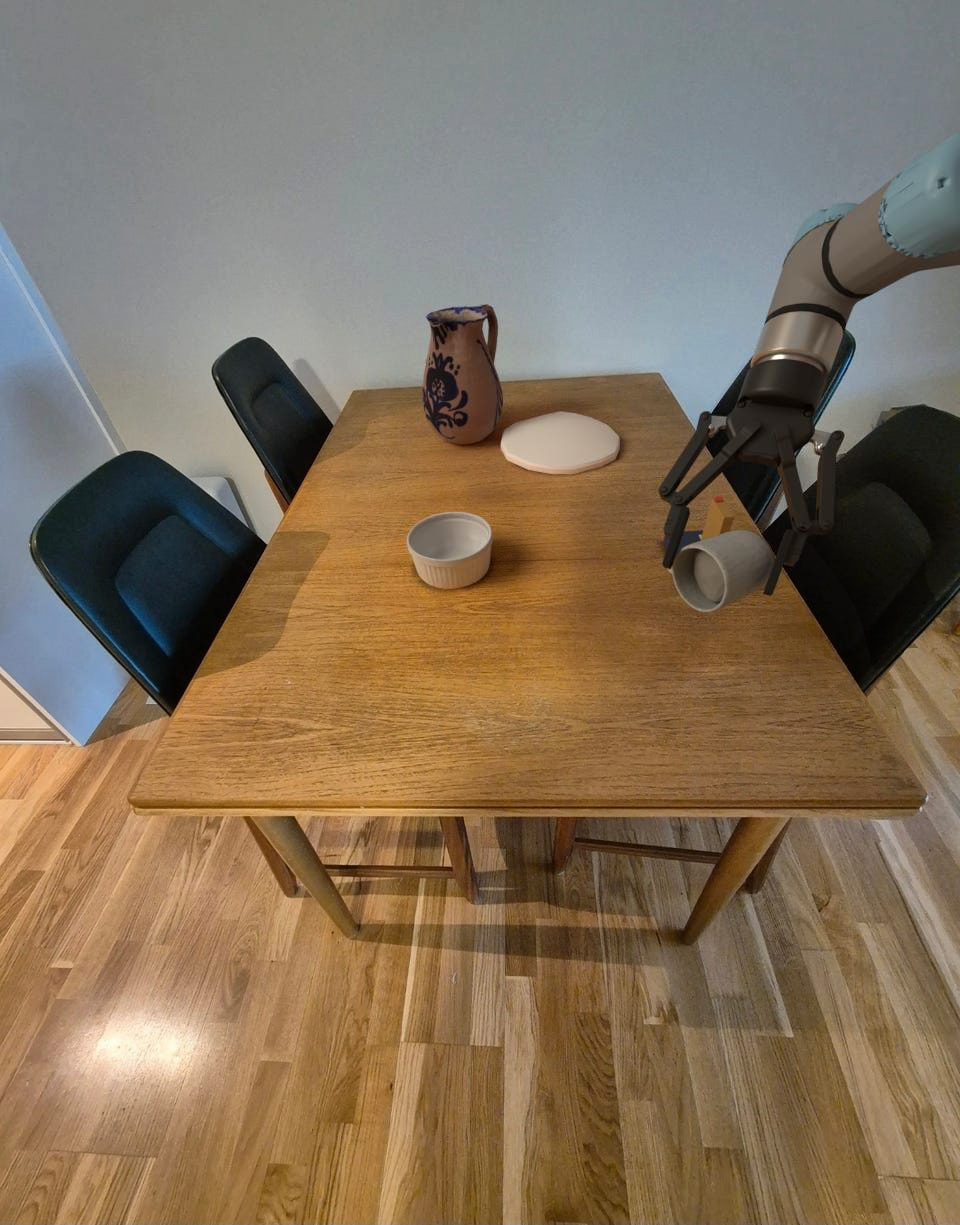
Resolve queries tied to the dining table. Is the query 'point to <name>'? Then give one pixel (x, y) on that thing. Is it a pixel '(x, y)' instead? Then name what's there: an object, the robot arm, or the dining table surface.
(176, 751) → the dining table surface
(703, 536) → the knob
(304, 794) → the dining table surface
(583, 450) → the decorative plate
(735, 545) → the ceramic mug
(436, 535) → the ramekin
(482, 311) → the ceramic pitcher
